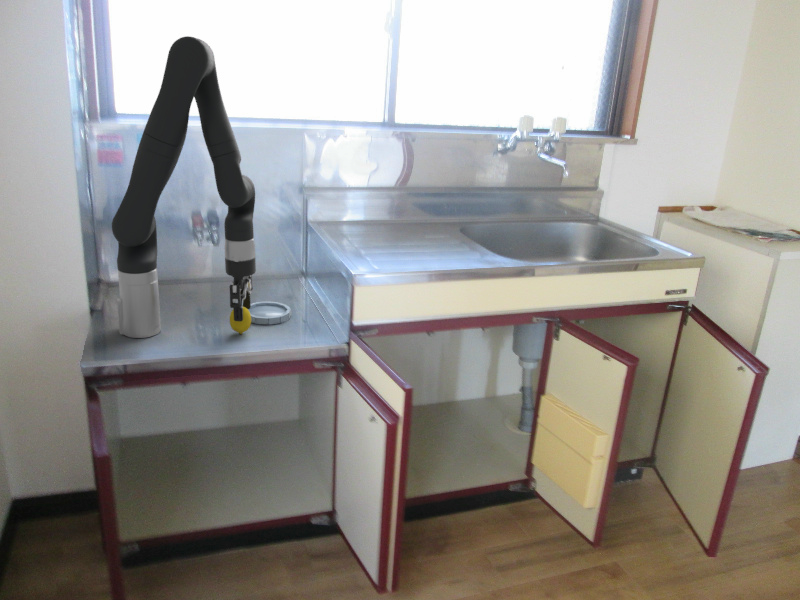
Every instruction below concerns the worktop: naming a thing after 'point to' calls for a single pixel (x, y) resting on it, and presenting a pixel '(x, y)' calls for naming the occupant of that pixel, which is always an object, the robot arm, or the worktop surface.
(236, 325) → the lemon
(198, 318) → the worktop surface
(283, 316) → the dish
